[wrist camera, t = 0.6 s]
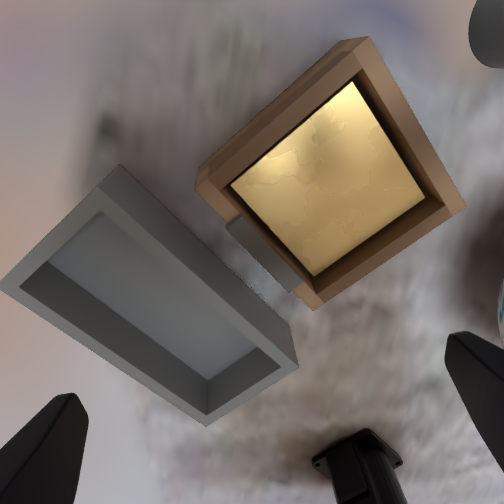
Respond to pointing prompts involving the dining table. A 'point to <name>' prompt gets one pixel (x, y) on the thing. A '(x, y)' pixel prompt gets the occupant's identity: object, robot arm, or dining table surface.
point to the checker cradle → (290, 114)
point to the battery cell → (488, 32)
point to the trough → (154, 302)
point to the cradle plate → (329, 181)
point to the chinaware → (501, 311)
